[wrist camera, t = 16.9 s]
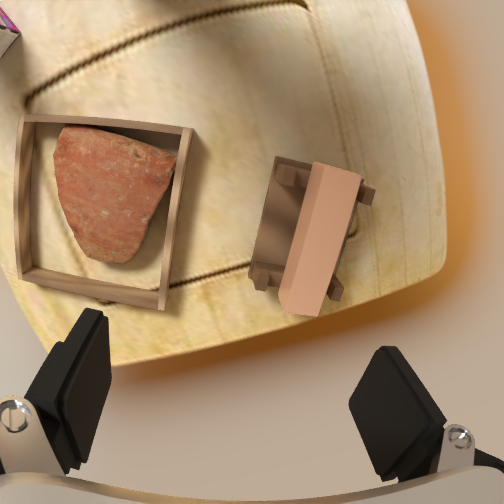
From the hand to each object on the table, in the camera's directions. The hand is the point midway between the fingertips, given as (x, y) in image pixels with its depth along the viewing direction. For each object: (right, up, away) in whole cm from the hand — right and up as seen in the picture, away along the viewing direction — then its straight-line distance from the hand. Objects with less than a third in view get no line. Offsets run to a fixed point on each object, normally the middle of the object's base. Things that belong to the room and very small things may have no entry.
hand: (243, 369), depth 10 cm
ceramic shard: (-17, +11, +25) cm, 32 cm away
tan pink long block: (+7, +6, +25) cm, 27 cm away
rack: (+7, +7, +29) cm, 30 cm away
